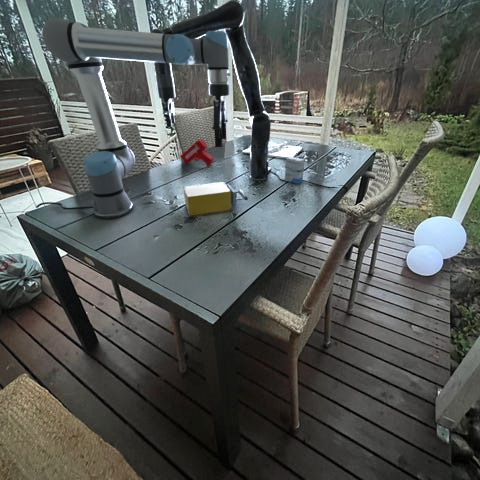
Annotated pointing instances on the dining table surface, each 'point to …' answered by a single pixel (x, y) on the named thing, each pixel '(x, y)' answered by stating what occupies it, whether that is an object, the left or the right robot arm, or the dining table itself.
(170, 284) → the dining table surface
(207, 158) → the toy gun
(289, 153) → the relief map
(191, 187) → the yellow rectangular box
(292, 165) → the ink box
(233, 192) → the drawer
